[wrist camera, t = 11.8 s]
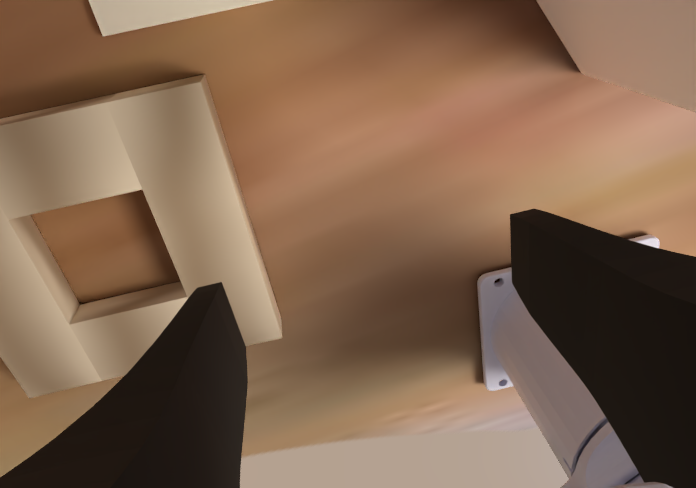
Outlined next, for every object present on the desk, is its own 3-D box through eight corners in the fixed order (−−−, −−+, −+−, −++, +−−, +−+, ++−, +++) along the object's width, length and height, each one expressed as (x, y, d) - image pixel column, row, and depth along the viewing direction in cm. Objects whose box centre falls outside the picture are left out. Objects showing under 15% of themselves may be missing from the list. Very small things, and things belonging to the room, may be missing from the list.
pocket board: (204, 73, 19) (200, 82, 18) (281, 318, 25) (282, 337, 24) (-112, 143, 19) (-140, 155, 18) (41, 375, 25) (29, 398, 24)
